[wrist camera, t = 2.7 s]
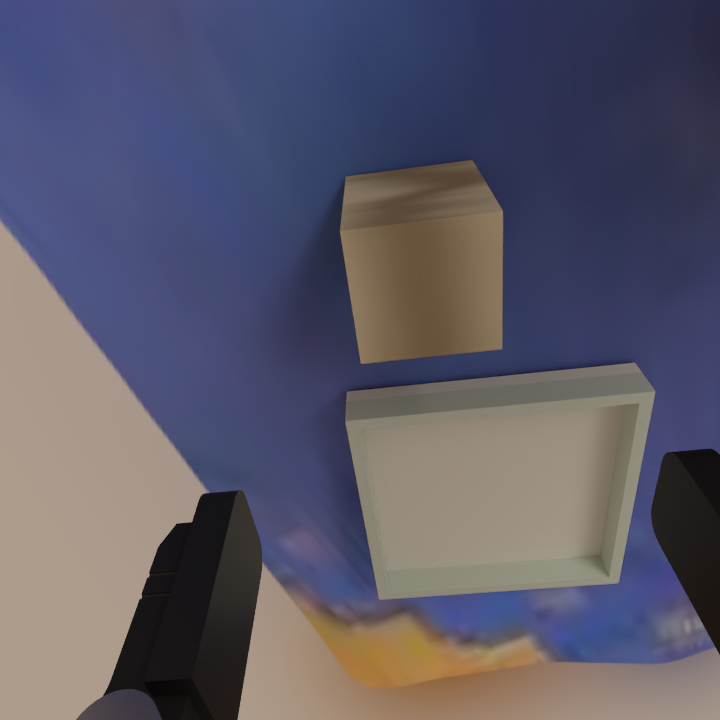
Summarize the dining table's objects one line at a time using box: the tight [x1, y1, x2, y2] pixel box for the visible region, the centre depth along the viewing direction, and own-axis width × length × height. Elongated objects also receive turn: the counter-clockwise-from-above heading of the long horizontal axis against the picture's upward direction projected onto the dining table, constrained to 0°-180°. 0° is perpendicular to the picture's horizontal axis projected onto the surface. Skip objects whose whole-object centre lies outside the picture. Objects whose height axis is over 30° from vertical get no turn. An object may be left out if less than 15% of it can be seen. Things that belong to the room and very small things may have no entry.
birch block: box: [340, 160, 503, 364], centre depth 21 cm, size 5×5×6 cm
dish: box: [345, 363, 655, 600], centre depth 31 cm, size 14×14×2 cm
